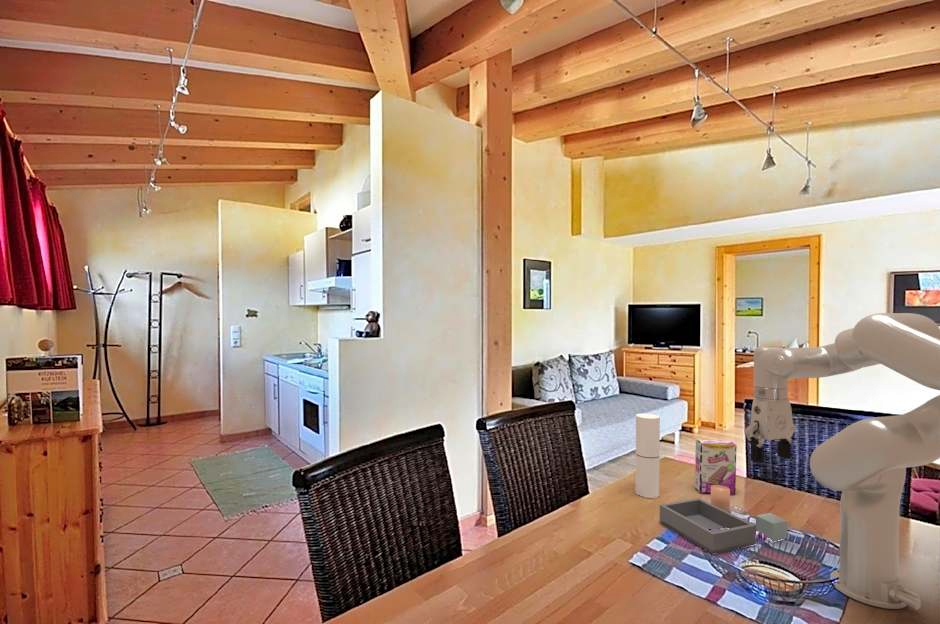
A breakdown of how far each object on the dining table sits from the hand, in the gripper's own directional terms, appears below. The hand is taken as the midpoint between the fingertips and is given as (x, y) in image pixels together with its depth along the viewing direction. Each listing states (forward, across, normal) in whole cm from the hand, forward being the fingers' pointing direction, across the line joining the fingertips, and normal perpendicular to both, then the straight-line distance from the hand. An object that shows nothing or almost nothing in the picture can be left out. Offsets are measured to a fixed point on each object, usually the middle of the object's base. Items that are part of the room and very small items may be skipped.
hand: (770, 459), depth 123 cm
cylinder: (+20, 0, +16) cm, 26 cm away
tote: (+20, -15, +7) cm, 26 cm away
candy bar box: (+20, +11, +28) cm, 36 cm away
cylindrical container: (+20, -11, +34) cm, 41 cm away
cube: (+20, 0, 0) cm, 20 cm away
